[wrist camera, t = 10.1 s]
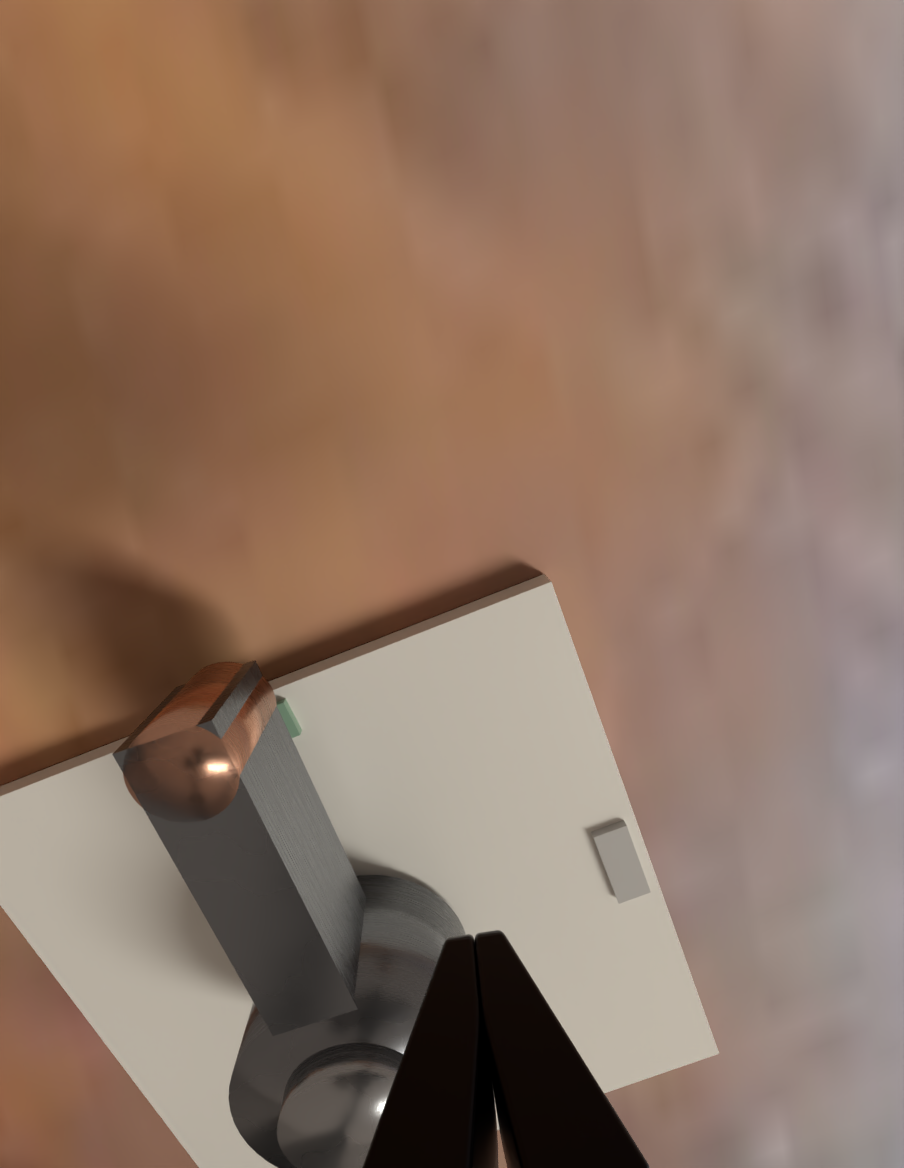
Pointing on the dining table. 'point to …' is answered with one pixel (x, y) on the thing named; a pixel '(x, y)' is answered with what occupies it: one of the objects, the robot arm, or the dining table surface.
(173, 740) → the lever
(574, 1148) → the robot arm
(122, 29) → the dining table surface
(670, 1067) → the plate
